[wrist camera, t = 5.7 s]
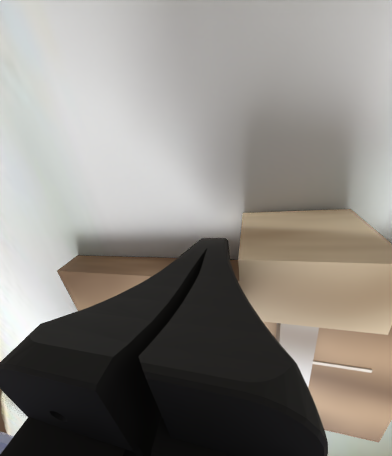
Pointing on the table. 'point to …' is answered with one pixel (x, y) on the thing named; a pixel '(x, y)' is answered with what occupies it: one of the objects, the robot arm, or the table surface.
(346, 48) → the table surface
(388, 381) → the oak board
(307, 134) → the table surface
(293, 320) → the beige block
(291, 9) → the table surface
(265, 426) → the robot arm
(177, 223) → the table surface
